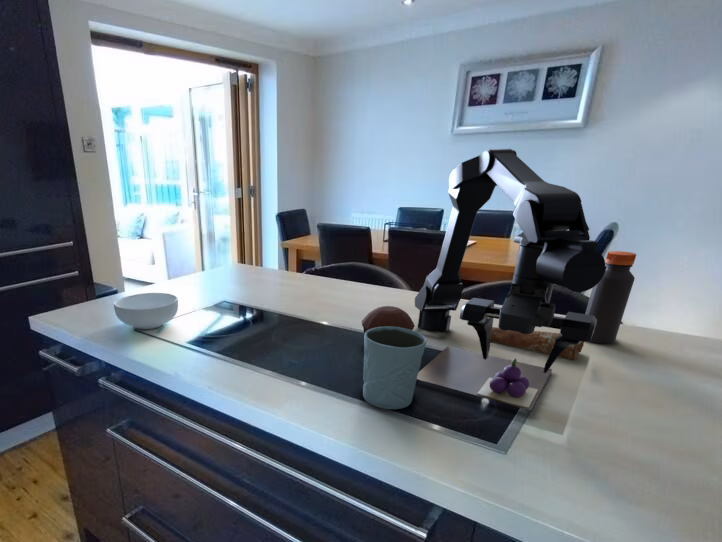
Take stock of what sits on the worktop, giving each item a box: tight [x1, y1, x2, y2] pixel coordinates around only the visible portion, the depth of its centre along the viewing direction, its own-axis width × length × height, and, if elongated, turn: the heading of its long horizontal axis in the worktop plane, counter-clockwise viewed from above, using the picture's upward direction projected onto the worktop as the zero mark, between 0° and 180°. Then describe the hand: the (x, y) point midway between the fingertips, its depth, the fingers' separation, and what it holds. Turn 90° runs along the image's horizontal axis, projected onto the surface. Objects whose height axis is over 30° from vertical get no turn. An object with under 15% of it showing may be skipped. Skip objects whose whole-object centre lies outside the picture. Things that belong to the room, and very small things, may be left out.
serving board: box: [417, 346, 553, 411], centre depth 85 cm, size 20×20×1 cm
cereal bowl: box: [113, 292, 179, 330], centre depth 119 cm, size 17×17×7 cm
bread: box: [491, 326, 585, 361], centre depth 96 cm, size 6×19×6 cm, turn 46°
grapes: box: [489, 358, 529, 398], centre depth 77 cm, size 6×6×6 cm
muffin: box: [361, 305, 416, 335], centre depth 98 cm, size 12×11×10 cm
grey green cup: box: [362, 327, 427, 410], centre depth 77 cm, size 10×10×12 cm
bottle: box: [584, 250, 637, 345], centre depth 99 cm, size 7×7×20 cm
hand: (514, 365), depth 76 cm, fingers open, 9 cm apart
